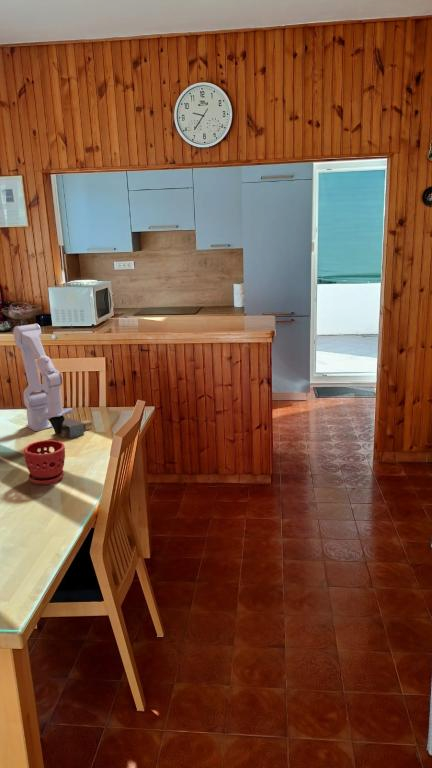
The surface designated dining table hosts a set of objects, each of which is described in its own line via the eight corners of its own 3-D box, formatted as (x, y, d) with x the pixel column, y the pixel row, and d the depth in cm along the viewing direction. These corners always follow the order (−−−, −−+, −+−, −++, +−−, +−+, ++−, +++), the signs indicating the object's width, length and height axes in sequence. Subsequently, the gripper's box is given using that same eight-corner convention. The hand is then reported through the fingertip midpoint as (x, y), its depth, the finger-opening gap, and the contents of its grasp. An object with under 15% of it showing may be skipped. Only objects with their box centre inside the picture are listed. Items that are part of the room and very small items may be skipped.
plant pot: (27, 490, 193) (23, 456, 190) (28, 474, 206) (24, 442, 203) (68, 484, 197) (64, 450, 194) (67, 469, 209) (63, 437, 206)
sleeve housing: (57, 432, 246) (56, 421, 245) (70, 428, 250) (69, 417, 249) (70, 438, 238) (69, 427, 237) (83, 434, 242) (82, 423, 241)
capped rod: (58, 435, 243) (58, 428, 242) (88, 426, 252) (87, 420, 251) (62, 437, 240) (61, 430, 240) (92, 428, 250) (91, 421, 249)
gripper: (42, 408, 229) (46, 441, 233) (75, 399, 238) (78, 431, 242) (34, 404, 234) (37, 436, 238) (67, 396, 244) (70, 427, 247)
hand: (57, 433), depth 240 cm, fingers closed
